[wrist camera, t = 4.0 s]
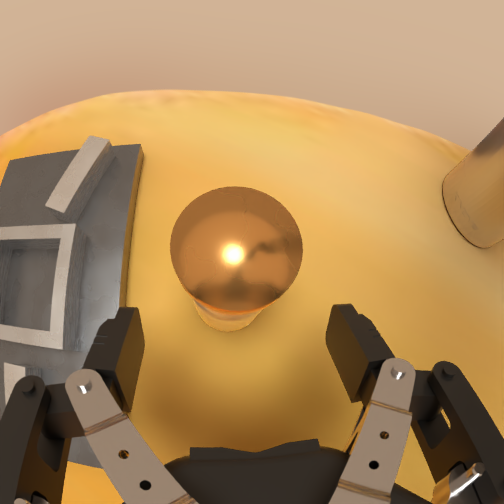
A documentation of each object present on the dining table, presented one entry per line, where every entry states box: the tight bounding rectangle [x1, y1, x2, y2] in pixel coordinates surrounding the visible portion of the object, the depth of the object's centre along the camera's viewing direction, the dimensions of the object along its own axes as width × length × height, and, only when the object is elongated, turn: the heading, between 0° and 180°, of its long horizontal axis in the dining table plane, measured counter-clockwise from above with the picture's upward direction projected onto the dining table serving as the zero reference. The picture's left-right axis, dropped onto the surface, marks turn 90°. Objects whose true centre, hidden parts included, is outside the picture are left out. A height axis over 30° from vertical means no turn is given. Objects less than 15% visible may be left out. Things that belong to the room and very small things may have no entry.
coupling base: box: [0, 136, 144, 469], centre depth 17 cm, size 24×14×4 cm, turn 2°
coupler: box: [170, 187, 303, 332], centre depth 16 cm, size 5×5×10 cm
